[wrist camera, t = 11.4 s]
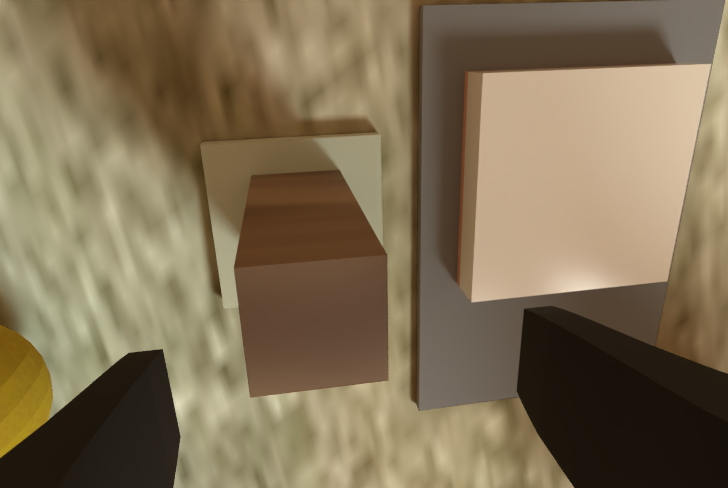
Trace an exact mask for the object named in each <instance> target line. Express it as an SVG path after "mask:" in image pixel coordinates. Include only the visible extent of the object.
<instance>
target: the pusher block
mask: <svg viewBox="0 0 728 488" xmlns="http://www.w3.org/2000/svg"><path fill="white" fill-rule="evenodd" d="M234 275H235V283H236V291H237V298H238V306H239V314H240V322H241V330H242V337H243V345H244V353H245V361H246V369H247V376H248V384H249V392H250V397H258V396H267V395H275V394H283V393H291V392H299V391H307V390H315V389H323V388H331V387H340V386H348V385H356V384H364V383H372V382H380V381H388V294H387V254H386V252H385V250H384V248H383V247H382V245H381V243H380V241H379V239H378V238H377V236H376V234H375V232H374V230H373V229H372V227H371V225H370V223H369V222H368V220H367V218H366V216H365V214H364V213H363V211H362V209H361V207H360V205H359V204H358V202H357V200H356V198H355V196H354V195H353V193H352V191H351V189H350V188H349V186H348V184H347V182H346V180H345V179H344V177H343V175H342V173H341V171H340V170H328V171H312V172H296V173H279V174H263V175H251V179H250V185H249V190H248V195H247V201H246V206H245V211H244V216H243V222H242V227H241V232H240V237H239V243H238V248H237V253H236V258H235V264H234Z"/></svg>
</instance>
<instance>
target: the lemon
mask: <svg viewBox="0 0 728 488" xmlns="http://www.w3.org/2000/svg"><path fill="white" fill-rule="evenodd" d="M52 399H53V393H52V384H51V377H50V373H49V370H48V368H47V366H46V364H45V362H44V360H43V357H42V356H41V355H40V353H39V352H38V351H37V350H36V349H35V347H34V346H33V345H32V344H31V343H30V342H29V341H28V340H26V339H25V338H24V337H22V336H21V335H20V334H18V333H17V332H15V331H13V330H11V329H8V328H6V327H4V326H2V325H0V458H1V457H2V456H3V455H5V454H6V453H7V452H8V451H10V450H11V449H12V448H14V447H15V446H16V445H17V444H19V443H20V442H21V441H23V440H24V439H25V438H26V437H28V436H29V435H30V434H31V433H33V432H34V431H35V430H37V429H38V428H39V427H40V426H42V425H43V424H44V423H46V422H47V421H48V420H49V415H50V410H51V405H52Z"/></svg>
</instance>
